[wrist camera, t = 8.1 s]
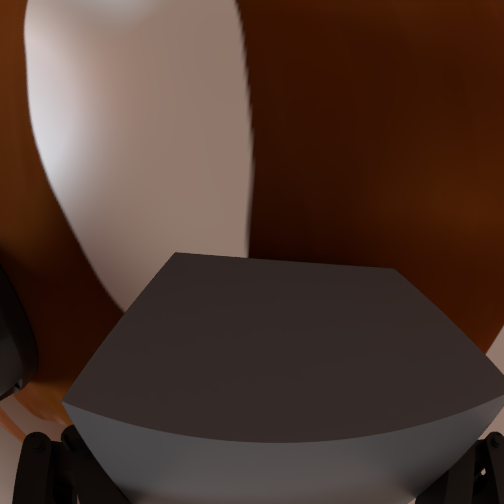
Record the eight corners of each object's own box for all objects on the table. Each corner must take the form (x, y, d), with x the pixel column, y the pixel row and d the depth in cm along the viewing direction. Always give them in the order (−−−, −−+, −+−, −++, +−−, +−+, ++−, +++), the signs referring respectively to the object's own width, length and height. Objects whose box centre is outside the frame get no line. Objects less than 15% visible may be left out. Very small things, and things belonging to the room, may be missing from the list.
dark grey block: (175, 252, 12) (60, 401, 4) (393, 268, 12) (515, 388, 4) (185, 406, 15) (157, 528, 7) (343, 411, 15) (374, 525, 7)
